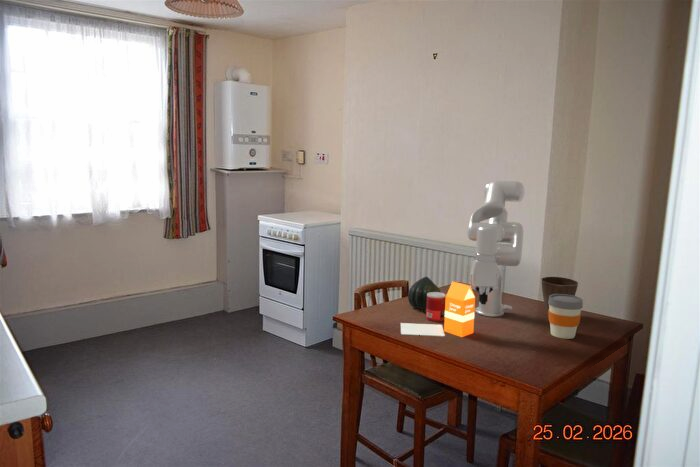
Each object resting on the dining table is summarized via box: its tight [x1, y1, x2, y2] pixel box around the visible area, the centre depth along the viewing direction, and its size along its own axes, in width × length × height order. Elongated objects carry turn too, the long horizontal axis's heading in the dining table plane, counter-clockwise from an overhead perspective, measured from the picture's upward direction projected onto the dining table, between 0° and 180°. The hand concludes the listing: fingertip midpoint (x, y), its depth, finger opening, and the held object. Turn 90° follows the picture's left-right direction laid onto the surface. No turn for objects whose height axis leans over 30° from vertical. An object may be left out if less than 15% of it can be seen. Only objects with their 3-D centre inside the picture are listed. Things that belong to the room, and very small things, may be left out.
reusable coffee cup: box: [548, 294, 584, 340], centre depth 203 cm, size 13×13×15 cm
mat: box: [400, 322, 446, 337], centre depth 207 cm, size 17×13×1 cm
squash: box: [407, 276, 442, 312], centre depth 235 cm, size 14×15×15 cm
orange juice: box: [443, 280, 476, 338], centre depth 204 cm, size 8×9×20 cm
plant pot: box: [541, 276, 579, 317], centre depth 226 cm, size 15×15×16 cm
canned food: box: [425, 291, 447, 323], centre depth 220 cm, size 8×8×11 cm
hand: (482, 303), depth 203 cm, fingers closed
